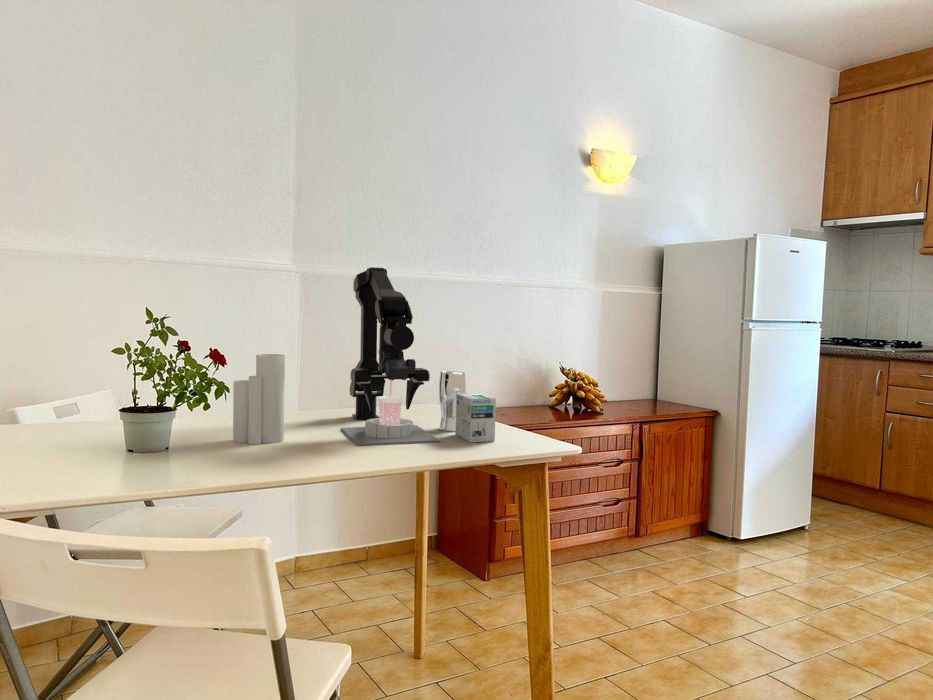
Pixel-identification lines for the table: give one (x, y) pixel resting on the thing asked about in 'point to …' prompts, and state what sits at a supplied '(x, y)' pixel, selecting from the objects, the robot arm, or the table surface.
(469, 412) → the light bulb box
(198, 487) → the table surface
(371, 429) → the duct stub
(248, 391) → the vase
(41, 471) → the table surface
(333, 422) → the table surface
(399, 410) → the beverage cup
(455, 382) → the beer glass
